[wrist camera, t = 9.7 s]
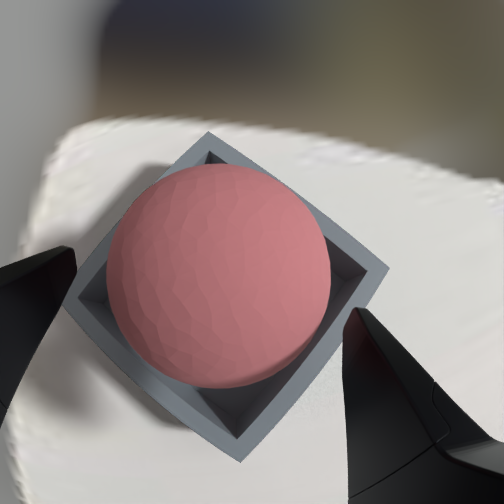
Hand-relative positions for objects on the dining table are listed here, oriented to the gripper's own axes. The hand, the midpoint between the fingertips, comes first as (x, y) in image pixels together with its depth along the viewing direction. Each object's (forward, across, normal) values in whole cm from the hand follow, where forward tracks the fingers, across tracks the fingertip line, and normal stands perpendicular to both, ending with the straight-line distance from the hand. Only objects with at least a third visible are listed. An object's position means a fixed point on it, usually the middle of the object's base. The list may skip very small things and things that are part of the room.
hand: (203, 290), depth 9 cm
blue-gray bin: (+8, 0, +7) cm, 10 cm away
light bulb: (+7, 0, +6) cm, 10 cm away
